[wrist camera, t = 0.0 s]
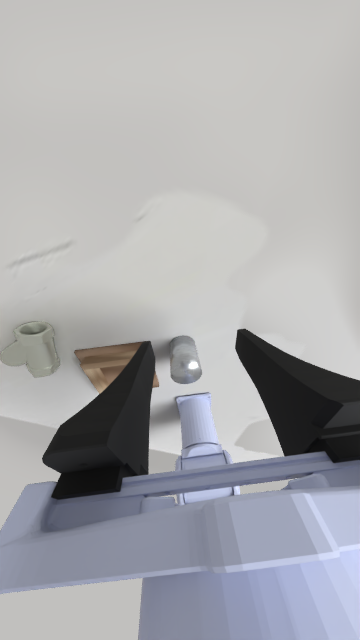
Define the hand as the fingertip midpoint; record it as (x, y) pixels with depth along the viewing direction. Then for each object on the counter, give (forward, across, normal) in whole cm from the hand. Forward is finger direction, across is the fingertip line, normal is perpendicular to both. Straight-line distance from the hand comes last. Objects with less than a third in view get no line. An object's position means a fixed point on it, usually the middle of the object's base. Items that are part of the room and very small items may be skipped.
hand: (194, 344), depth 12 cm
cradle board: (+11, +13, +13) cm, 21 cm away
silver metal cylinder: (+10, +1, +9) cm, 14 cm away
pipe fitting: (+11, +24, +4) cm, 26 cm away
